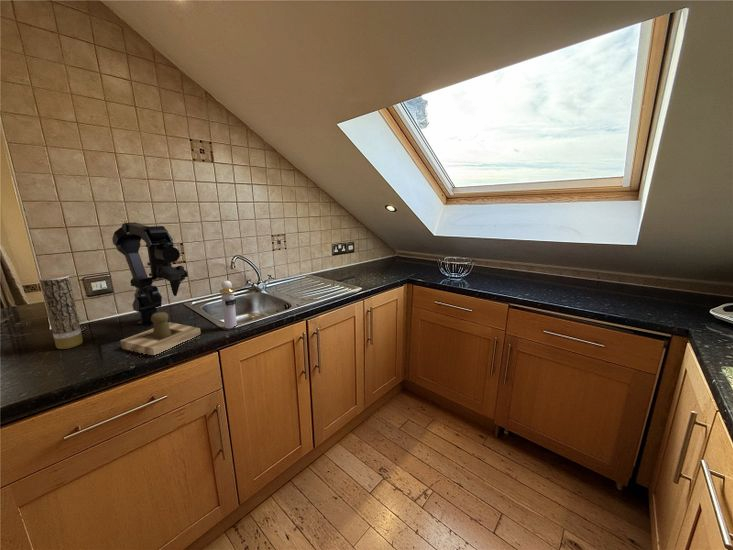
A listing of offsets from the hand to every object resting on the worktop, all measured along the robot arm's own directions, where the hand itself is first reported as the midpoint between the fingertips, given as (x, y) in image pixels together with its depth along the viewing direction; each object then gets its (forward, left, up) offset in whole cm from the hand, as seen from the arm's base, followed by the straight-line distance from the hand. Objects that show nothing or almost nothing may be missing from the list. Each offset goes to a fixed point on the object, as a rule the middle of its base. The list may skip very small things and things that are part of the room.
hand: (164, 299), depth 115 cm
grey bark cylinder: (-19, -22, -13) cm, 32 cm away
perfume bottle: (+21, +11, -13) cm, 27 cm away
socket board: (+8, -8, -13) cm, 17 cm away
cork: (+8, -8, -13) cm, 17 cm away
